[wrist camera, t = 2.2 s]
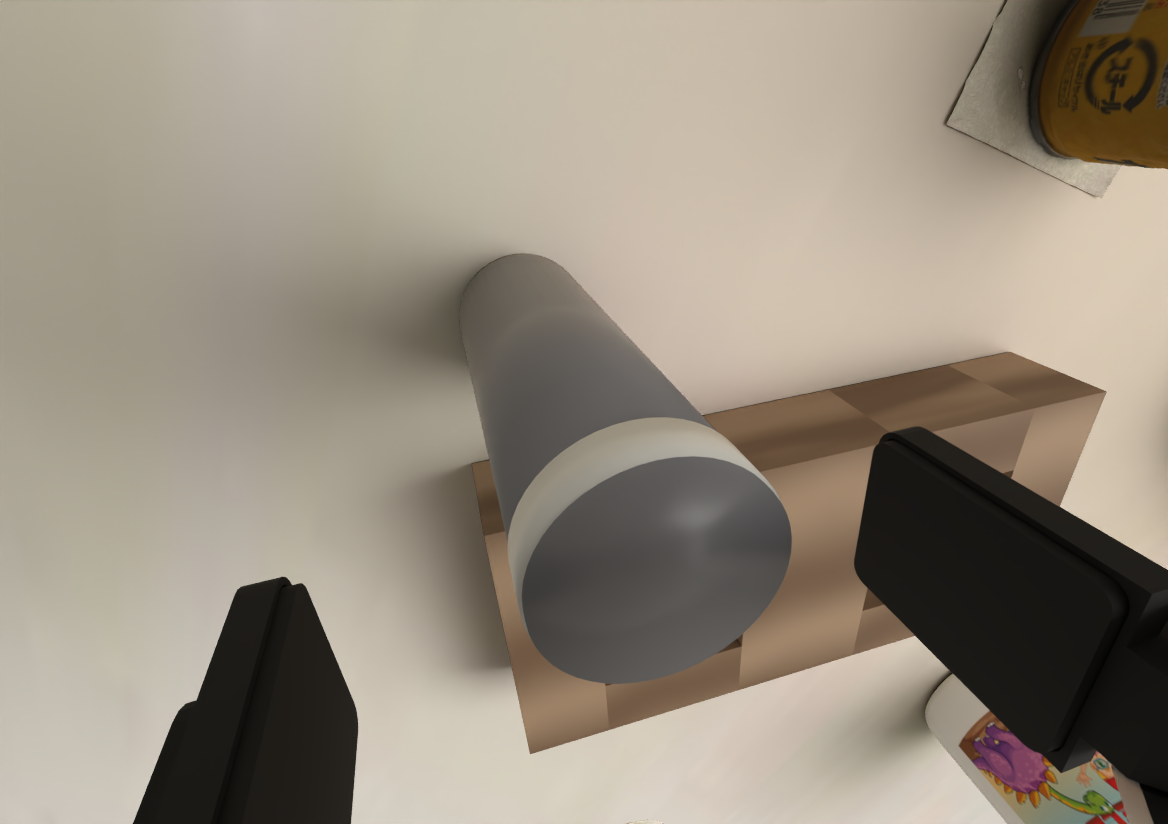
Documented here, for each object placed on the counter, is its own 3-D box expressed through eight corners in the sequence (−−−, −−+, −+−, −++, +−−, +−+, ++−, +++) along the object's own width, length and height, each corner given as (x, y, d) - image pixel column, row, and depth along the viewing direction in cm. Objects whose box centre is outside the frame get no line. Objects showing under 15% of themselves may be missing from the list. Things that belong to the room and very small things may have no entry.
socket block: (471, 463, 20) (484, 535, 17) (1010, 351, 25) (1106, 391, 21) (515, 672, 26) (530, 758, 22) (949, 550, 30) (1018, 608, 27)
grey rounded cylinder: (445, 262, 17) (498, 501, 7) (580, 243, 18) (809, 432, 8) (469, 386, 19) (539, 715, 9) (589, 364, 20) (781, 644, 10)
